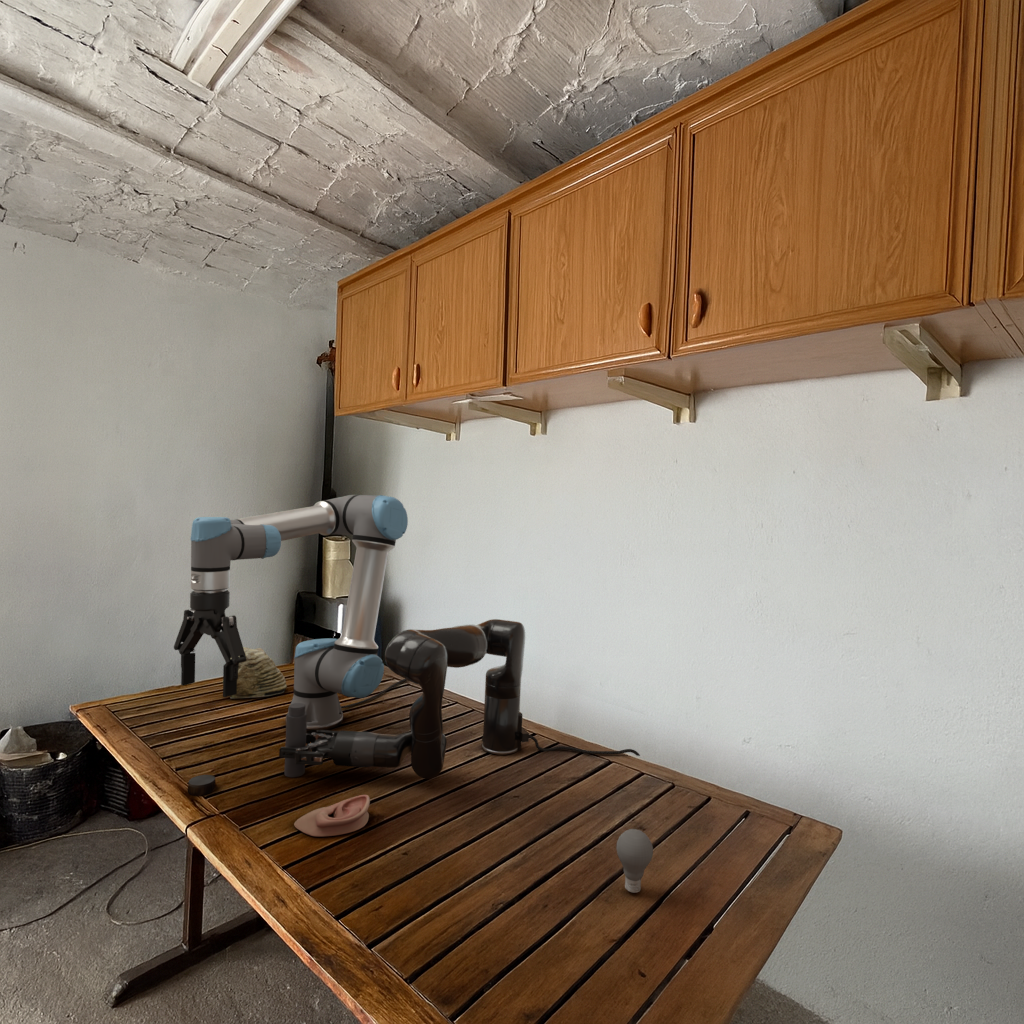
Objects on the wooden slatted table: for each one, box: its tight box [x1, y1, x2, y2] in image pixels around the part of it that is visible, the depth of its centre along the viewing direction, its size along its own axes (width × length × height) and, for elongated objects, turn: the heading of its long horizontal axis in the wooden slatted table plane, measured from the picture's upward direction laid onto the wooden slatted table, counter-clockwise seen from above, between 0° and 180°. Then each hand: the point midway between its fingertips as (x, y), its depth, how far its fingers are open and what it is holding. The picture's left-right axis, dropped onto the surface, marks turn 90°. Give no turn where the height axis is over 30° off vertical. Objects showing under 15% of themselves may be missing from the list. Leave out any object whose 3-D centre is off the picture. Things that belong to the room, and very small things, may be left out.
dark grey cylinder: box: [283, 703, 307, 778], centre depth 144 cm, size 4×4×16 cm
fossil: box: [229, 646, 288, 699], centre depth 198 cm, size 9×18×15 cm, turn 132°
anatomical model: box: [293, 794, 371, 837], centre depth 123 cm, size 13×4×12 cm
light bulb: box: [615, 828, 654, 894], centre depth 106 cm, size 6×6×10 cm
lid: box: [187, 774, 216, 797], centre depth 134 cm, size 5×5×2 cm
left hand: (208, 689), depth 135 cm, fingers open, 13 cm apart
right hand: (287, 744), depth 144 cm, fingers open, 8 cm apart
